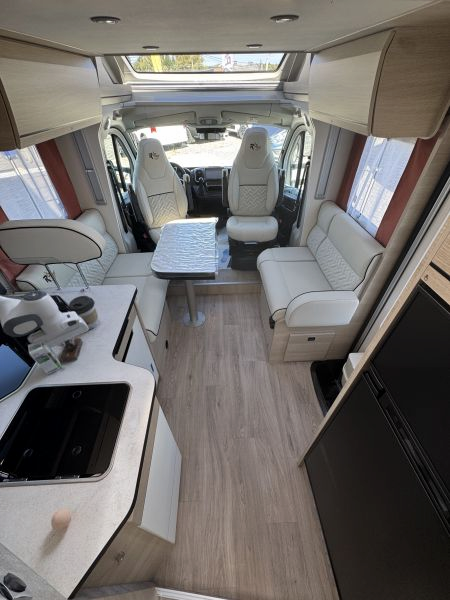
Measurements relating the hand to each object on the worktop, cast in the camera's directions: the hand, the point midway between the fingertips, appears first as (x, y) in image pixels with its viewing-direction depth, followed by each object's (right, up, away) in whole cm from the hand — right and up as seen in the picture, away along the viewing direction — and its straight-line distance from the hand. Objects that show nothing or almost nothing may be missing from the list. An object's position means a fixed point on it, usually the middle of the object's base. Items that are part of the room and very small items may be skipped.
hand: (69, 345), depth 112 cm
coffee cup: (+2, +8, +16) cm, 18 cm away
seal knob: (0, -1, +1) cm, 1 cm away
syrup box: (-5, -9, -3) cm, 10 cm away
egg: (+24, -42, -41) cm, 63 cm away
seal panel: (0, -3, +3) cm, 4 cm away
